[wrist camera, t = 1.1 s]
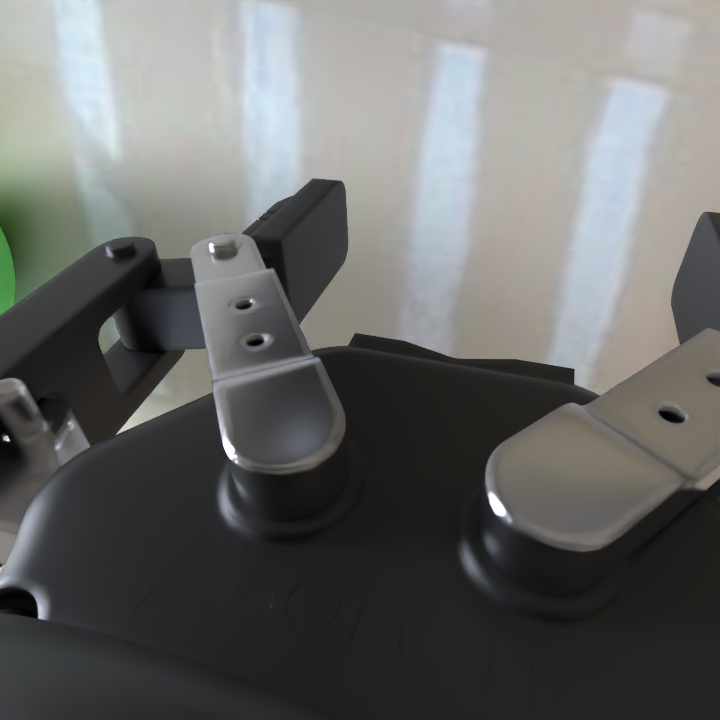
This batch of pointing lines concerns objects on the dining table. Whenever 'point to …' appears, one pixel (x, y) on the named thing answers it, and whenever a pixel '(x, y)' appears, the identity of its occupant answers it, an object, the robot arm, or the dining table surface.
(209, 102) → the dining table surface
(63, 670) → the robot arm
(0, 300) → the toy bird
